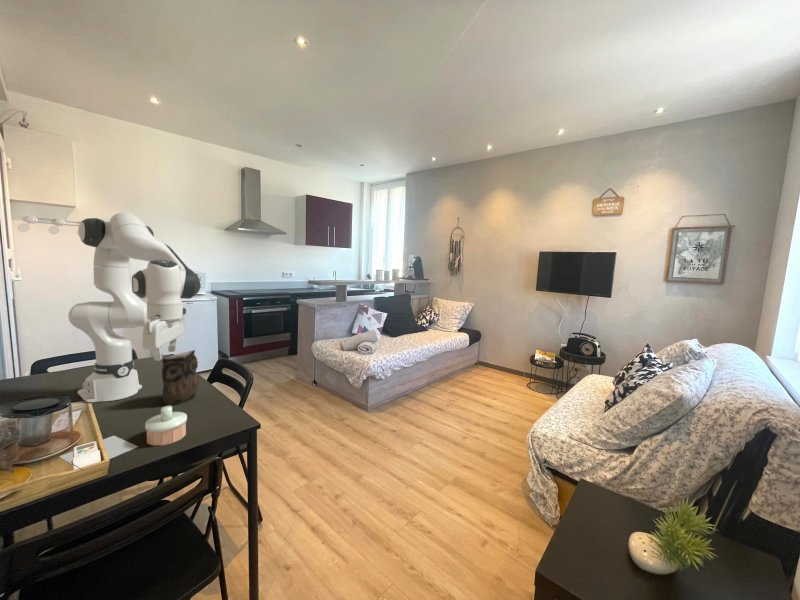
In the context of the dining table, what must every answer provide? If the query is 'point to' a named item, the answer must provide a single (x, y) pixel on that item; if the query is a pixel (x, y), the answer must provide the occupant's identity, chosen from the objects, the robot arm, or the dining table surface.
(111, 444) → the mat
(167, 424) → the lid
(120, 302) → the robot arm
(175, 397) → the owl
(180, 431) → the bowl
